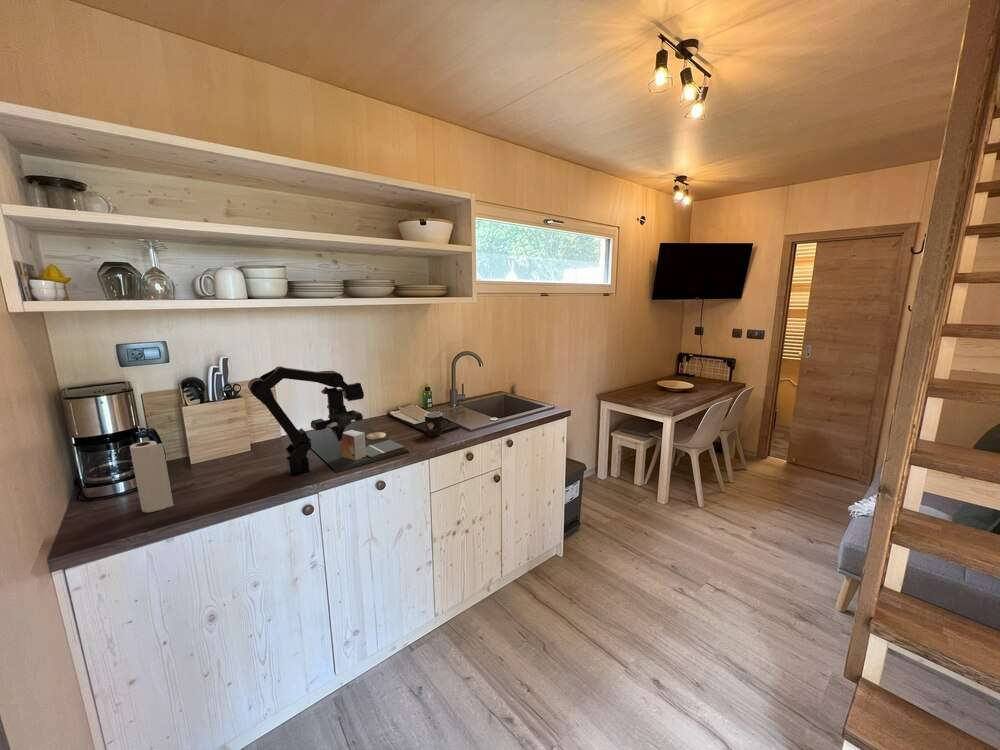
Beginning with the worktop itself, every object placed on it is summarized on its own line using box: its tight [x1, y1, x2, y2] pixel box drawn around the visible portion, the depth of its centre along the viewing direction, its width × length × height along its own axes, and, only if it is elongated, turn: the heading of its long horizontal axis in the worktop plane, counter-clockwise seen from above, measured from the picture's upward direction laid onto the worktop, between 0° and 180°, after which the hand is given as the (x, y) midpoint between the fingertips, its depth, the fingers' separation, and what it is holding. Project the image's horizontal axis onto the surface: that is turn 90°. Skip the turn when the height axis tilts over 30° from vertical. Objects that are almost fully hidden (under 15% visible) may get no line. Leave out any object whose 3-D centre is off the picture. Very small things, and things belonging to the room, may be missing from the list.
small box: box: [340, 429, 367, 462], centre depth 164 cm, size 8×6×10 cm
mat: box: [365, 439, 405, 459], centre depth 173 cm, size 16×12×1 cm
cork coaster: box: [365, 431, 387, 441], centre depth 189 cm, size 9×9×1 cm
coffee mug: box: [423, 411, 450, 438], centre depth 190 cm, size 12×9×10 cm
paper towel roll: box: [129, 440, 174, 513], centre depth 123 cm, size 7×6×21 cm
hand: (339, 440), depth 159 cm, fingers closed
